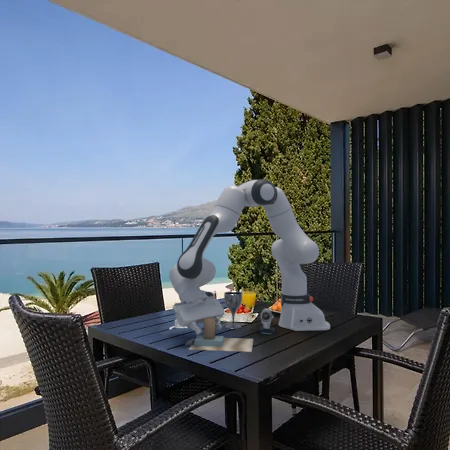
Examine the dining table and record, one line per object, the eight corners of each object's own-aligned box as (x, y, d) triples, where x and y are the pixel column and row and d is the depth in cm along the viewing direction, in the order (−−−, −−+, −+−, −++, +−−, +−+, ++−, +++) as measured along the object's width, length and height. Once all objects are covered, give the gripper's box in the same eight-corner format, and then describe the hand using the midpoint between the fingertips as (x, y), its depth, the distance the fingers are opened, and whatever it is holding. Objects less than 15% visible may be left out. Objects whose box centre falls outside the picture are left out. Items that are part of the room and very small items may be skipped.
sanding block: (223, 341, 142) (223, 317, 142) (222, 346, 136) (222, 321, 136) (197, 340, 143) (197, 316, 143) (194, 345, 137) (194, 320, 137)
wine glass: (232, 330, 163) (232, 295, 163) (220, 326, 169) (220, 292, 169) (246, 327, 168) (245, 293, 168) (234, 323, 174) (234, 290, 174)
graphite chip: (195, 340, 142) (193, 338, 142) (192, 344, 137) (191, 342, 137) (185, 345, 143) (184, 342, 143) (182, 349, 138) (181, 346, 138)
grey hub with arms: (183, 332, 161) (183, 323, 161) (166, 331, 163) (166, 322, 163) (190, 327, 170) (189, 318, 170) (173, 326, 171) (173, 317, 171)
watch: (258, 338, 151) (258, 310, 151) (261, 333, 159) (261, 306, 159) (273, 339, 149) (272, 311, 150) (274, 333, 157) (274, 307, 157)
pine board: (253, 342, 145) (253, 338, 145) (251, 356, 130) (251, 351, 130) (196, 340, 148) (196, 337, 148) (188, 353, 133) (188, 349, 133)
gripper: (174, 298, 138) (191, 331, 131) (216, 292, 152) (233, 321, 145) (167, 309, 141) (183, 341, 134) (209, 301, 155) (225, 330, 148)
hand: (210, 330), depth 139 cm, fingers open, 8 cm apart
